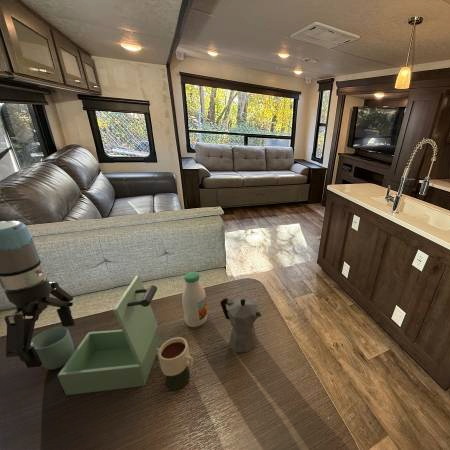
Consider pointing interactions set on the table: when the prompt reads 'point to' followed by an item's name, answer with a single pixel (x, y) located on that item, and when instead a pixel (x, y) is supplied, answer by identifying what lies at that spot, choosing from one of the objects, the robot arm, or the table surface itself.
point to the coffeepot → (241, 322)
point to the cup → (53, 347)
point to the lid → (137, 317)
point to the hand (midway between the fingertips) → (53, 343)
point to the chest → (106, 364)
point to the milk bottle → (194, 301)
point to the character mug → (175, 362)
